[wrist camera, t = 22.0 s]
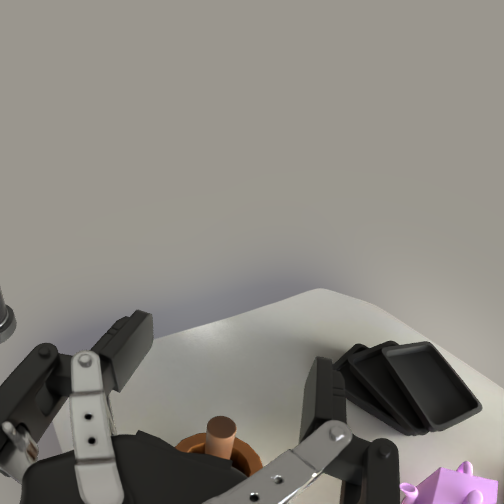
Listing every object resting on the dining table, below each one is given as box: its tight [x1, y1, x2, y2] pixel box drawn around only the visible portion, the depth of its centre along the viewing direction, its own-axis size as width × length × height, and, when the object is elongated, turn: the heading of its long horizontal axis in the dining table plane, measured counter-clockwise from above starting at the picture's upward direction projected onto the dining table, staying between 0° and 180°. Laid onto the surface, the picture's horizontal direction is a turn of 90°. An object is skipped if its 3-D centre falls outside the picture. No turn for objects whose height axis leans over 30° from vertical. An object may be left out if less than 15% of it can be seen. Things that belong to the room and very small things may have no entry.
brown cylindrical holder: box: [175, 433, 263, 478], centre depth 23 cm, size 8×8×11 cm
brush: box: [205, 416, 237, 460], centre depth 21 cm, size 3×3×18 cm
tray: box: [332, 341, 482, 436], centre depth 43 cm, size 30×23×5 cm
